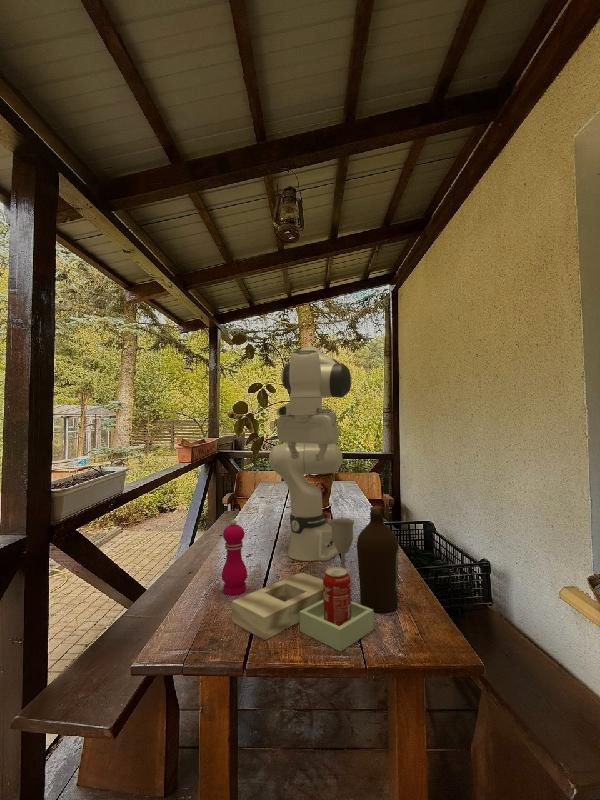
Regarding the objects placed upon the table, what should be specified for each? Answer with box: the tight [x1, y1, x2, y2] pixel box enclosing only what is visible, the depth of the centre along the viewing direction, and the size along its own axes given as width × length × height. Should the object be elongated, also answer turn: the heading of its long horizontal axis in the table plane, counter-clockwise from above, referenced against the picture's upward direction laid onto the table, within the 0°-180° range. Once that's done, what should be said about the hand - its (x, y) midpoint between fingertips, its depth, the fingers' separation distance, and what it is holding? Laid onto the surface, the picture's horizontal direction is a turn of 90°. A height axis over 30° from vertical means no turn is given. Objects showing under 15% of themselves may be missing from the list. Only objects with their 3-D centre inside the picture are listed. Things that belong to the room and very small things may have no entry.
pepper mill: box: [221, 519, 248, 596], centre depth 119 cm, size 7×7×20 cm
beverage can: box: [322, 566, 352, 626], centre depth 97 cm, size 6×6×12 cm
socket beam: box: [231, 572, 323, 641], centre depth 106 cm, size 24×12×5 cm, turn 135°
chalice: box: [329, 517, 355, 587], centre depth 122 cm, size 7×7×18 cm
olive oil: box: [356, 505, 399, 614], centre depth 109 cm, size 11×11×25 cm
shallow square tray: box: [299, 600, 375, 652], centre depth 97 cm, size 12×12×4 cm
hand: (307, 459), depth 114 cm, fingers open, 8 cm apart
